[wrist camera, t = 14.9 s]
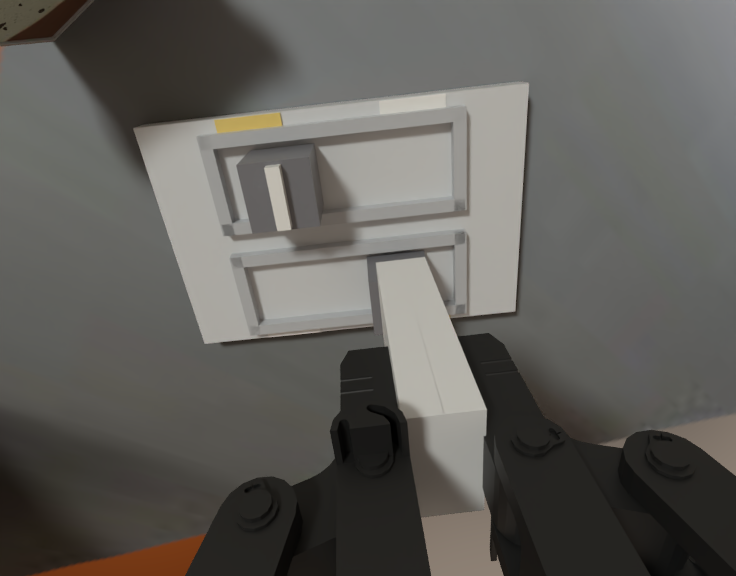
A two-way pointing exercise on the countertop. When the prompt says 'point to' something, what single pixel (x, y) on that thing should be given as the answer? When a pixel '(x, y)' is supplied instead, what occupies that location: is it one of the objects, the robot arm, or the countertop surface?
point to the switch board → (347, 207)
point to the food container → (37, 19)
